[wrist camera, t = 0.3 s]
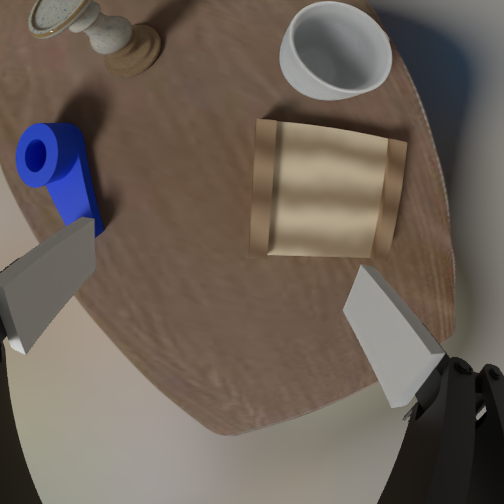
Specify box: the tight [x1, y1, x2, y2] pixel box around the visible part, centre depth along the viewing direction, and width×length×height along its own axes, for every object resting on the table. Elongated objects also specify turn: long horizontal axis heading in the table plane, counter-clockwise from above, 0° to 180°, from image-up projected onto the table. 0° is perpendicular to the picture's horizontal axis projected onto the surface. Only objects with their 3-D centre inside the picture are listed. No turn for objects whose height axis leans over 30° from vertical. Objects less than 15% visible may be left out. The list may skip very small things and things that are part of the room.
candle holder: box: [28, 0, 161, 77], centre depth 19 cm, size 9×9×20 cm
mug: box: [279, 1, 392, 101], centre depth 25 cm, size 15×11×13 cm
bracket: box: [16, 123, 104, 238], centre depth 32 cm, size 20×9×8 cm, turn 16°
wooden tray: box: [249, 119, 407, 262], centre depth 36 cm, size 18×21×4 cm
